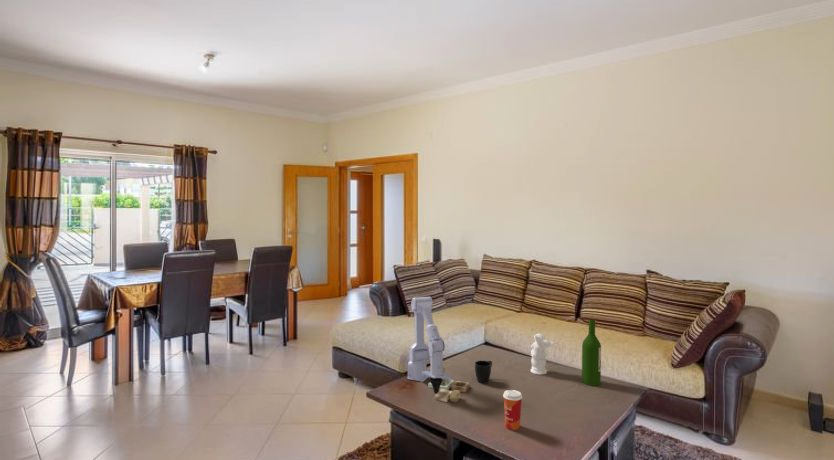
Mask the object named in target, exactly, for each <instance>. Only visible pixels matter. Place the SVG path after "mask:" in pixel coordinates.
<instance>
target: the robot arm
mask: <svg viewBox="0 0 834 460" xmlns="http://www.w3.org/2000/svg"><path fill="white" fill-rule="evenodd" d="M410 303H411V304H410V306H411V313H413V314H414V343H413V344H411V345H410V346H409V353H408V357H409V360H408V363H407V378H406V379H407V380H412V381H415V382H421V383H423V382H425V381H426V380H427V379H428V378H429V383H430V382H431V384H432V386H433V388H432V389H433V392H434V395H436V394H437V393H438V392H439V391H440V390H439V388H440V385H441V382H442V380H443V379H444V380H448V381H451V380H452V375H449V374H447V373H445V374H444V373H443V368H444V367H443V360H444V359H443V352H444V351H445V347H446V346H445V345H446V344H445V341H444V339H443V337H442V336H440V332H439V329H438V327H437V325H435V324H434V319H433V314H432V310H433V307H434V306H433V304H434V303H433V299H432V297H431V296H422V297H413V298H411V301H410ZM425 324H426V328H425ZM425 331H426V332H425ZM425 333H426V336H427V339H428V344H426V343H425ZM428 361H430V371H429V370H427V363H428Z"/></svg>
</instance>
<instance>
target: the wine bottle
mask: <svg viewBox="0 0 834 460" xmlns="http://www.w3.org/2000/svg"><path fill="white" fill-rule="evenodd" d="M581 344H582V345H581V346H582V347H581V382H582V384H584V385H586V386H590V387H599V386H601V381H602V380H601V379H602V378H601V375H602V374H601V373H602V372H601V371H602V369H601V368H602V346H601V342H600V340H599V339H598V336H597V335H596V319H592V318H589V319H588V334H587V336H586V337H585V339H584V340H583V341H582V343H581Z"/></svg>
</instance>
